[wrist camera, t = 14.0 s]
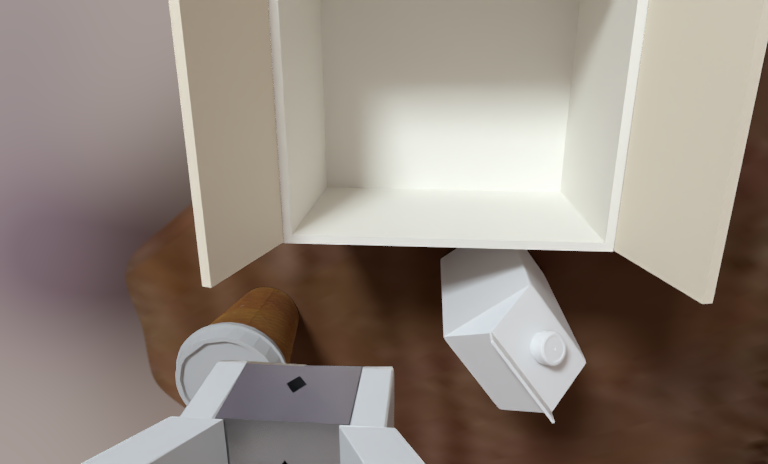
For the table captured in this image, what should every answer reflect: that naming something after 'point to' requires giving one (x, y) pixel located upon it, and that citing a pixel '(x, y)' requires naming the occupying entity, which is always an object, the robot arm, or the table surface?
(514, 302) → the milk carton
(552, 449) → the table surface
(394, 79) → the carton
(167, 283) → the table surface
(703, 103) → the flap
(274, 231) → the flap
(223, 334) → the disposable coffee cup
